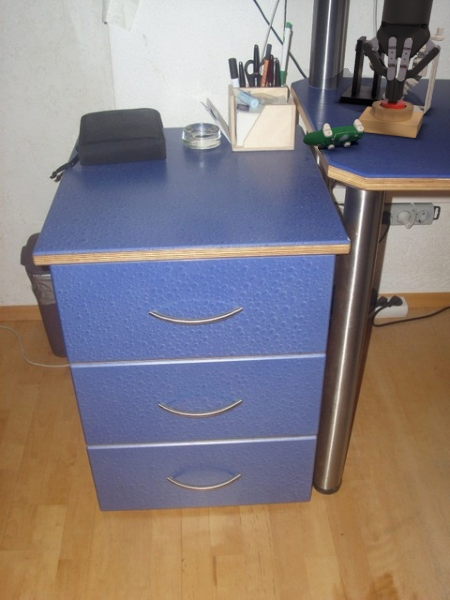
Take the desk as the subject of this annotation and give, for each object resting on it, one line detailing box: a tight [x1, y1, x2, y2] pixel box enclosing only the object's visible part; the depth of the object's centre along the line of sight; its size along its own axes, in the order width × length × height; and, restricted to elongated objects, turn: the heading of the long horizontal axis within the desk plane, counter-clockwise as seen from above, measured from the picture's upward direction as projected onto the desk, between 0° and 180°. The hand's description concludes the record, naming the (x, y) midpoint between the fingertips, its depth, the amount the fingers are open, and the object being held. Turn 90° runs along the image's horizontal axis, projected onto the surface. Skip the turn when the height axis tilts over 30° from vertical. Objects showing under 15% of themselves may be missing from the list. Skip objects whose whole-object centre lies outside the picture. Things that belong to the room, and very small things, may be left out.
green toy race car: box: [302, 118, 365, 150], centre depth 96 cm, size 9×4×6 cm
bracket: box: [339, 35, 386, 106], centre depth 119 cm, size 10×8×11 cm
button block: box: [358, 100, 425, 139], centre depth 104 cm, size 10×8×4 cm
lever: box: [364, 39, 386, 72], centre depth 122 cm, size 14×3×3 cm, turn 158°
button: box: [381, 99, 406, 109], centre depth 103 cm, size 4×4×2 cm
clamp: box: [383, 26, 445, 115], centre depth 111 cm, size 4×10×15 cm, turn 62°
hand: (393, 101), depth 103 cm, fingers closed
